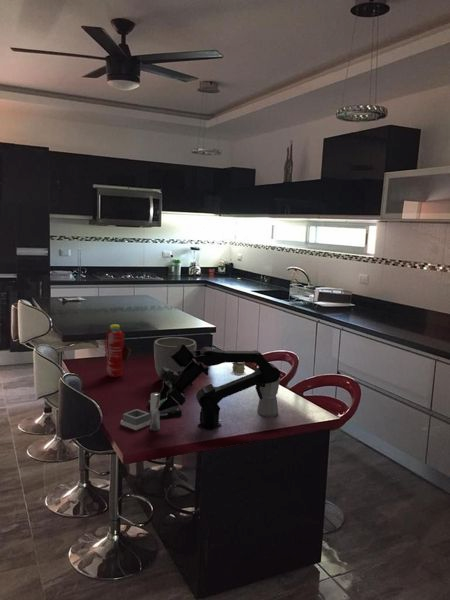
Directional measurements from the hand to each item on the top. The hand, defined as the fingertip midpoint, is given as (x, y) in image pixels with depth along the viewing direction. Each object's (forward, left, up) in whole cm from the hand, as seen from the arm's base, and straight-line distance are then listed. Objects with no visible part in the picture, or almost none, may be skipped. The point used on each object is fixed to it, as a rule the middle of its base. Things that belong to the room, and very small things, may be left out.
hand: (157, 405), depth 183 cm
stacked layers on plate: (+20, -80, -9) cm, 83 cm away
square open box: (+8, +2, -9) cm, 12 cm away
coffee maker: (-22, -40, -9) cm, 46 cm away
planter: (+32, -45, -9) cm, 56 cm away
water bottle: (+58, -33, -9) cm, 68 cm away
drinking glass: (0, +1, -9) cm, 9 cm away
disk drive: (+10, -15, -9) cm, 21 cm away
